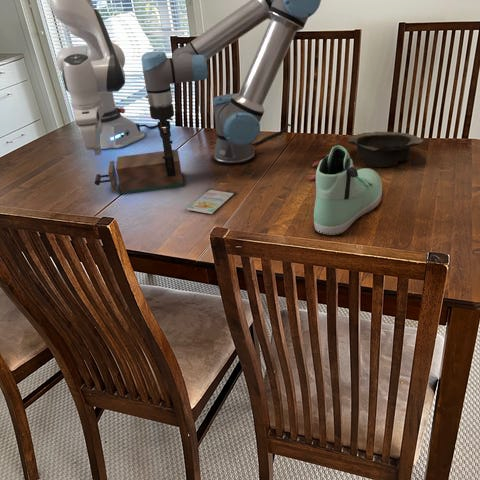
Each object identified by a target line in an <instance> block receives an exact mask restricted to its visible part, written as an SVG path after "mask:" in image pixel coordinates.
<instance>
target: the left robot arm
mask: <svg viewBox="0 0 480 480" xmlns="http://www.w3.org/2000/svg"><path fill="white" fill-rule="evenodd" d="M49 4H50V7H51V10H52V13H53V15H54V16H55V18H56V19H57V20H59V22H61V23H62V24H64V25H65V26H66V28H67V29H66V30H67V31H68V32H69V33H70V34H71V35H73V36H74V37H77V38H79V39H81V40H82V41H84V42H85V43H86V45H75V46H74V45H73V46H69V47H64V48H62V49H60V50H59V51H58V53H57V55H56V65H57V68H58V70H59V71H60V72H61V78H62V82H63V85H64V89H65V91H66V92H68V93H69V95H70V105H71V108H72V112H73V116H74V123H75V125H76V126H78V130H79V133H80V136H81V140H82V142H83V145H84V147H85V149H86V150H87V151H90V150H93V152H94V156H100V155H101V152H102V150H107V149H121V148H122V149H123V148H124V147H127V146H128V145H131V144H132V143H135V142H137V141H139V140H141V139H143V138H145V137H146V135H145V133H144V132H142V131H141V127H144V128H146V129H155V128H156V129H157V128H158V124H156V125H151V126H149V125H147V124H140V123H137V122H134V121H133V120H131V119H129V118H127V117H125V116H123V115H122V114H125V112H126V109H125V108H124V107H123V108H122V107H117V106H116V103H115V97H114V94H113V93H115V92H119V91H120V90H121V89H122V88H123V87H124V86H125V85H126V74H125V70H124V67H125V65H126V57H125V53H124V51H123V50H122V48H121V47H120V46H119V45H118V44H116V43H114V42H113V41H112V39H111V37H110V35H109V32H108V29H107V27H106V25H105V22H104V20H103V17H102V15H101V13H100V11H99V10H98V9H96V8H94V4H93V0H49ZM167 121H171V122H172V121H174V119H173V117H171V118H168V119H167Z"/></svg>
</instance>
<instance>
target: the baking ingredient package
mask: <svg viewBox="0 0 480 480" xmlns="http://www.w3.org/2000/svg"><path fill="white" fill-rule="evenodd" d="M233 195H235V193H234V192H228V191H222V190H215V189H209V190H208V191H207V192H205V193H204V194H202V196H200V197H199V198H198V199H197V200H196V201H194V202H193V203H192V204H190V205H189V206H188V207H187V208H186V210H187V211H194V212H198V213H204V214H209V215H212V214H214V212H216V211H217V210H218V208H220V207H221V206H222V205H223V204H225V202H227V201H228V200H229V199H230V198H231V197H232V196H233Z"/></svg>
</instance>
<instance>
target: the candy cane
mask: <svg viewBox="0 0 480 480" xmlns="http://www.w3.org/2000/svg"><path fill="white" fill-rule="evenodd" d="M320 161H321V160H317V161H314V162H313V163H312V167H313V168H316V167H318V165H319V163H320ZM314 180H316V172H315V173H314V174H313V175H311V176H310V177H309V181H310V182H312V181H314Z"/></svg>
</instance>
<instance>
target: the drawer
mask: <svg viewBox="0 0 480 480" xmlns="http://www.w3.org/2000/svg"><path fill="white" fill-rule="evenodd" d="M115 165H116V164H115V161H114V160H111V161H109V166H108V172H107V174H103V175H102V174H100V173H97V174H96V175H95V179H94V185H96V186H99V185H100V184H105V183H110V186H111V191H112V192H113V193H115V192H117V190H118V183H119V180H118V176H117V171H116V166H115ZM108 177H109V179H102V178H108Z"/></svg>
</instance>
